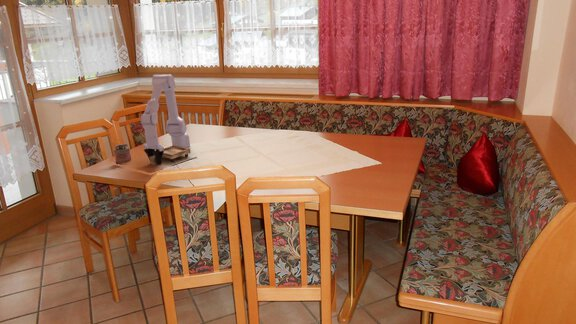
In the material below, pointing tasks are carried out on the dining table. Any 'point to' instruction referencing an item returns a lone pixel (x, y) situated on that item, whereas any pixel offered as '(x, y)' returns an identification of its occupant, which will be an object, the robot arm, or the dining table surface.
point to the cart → (175, 152)
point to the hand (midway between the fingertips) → (155, 162)
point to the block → (153, 160)
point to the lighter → (122, 153)
